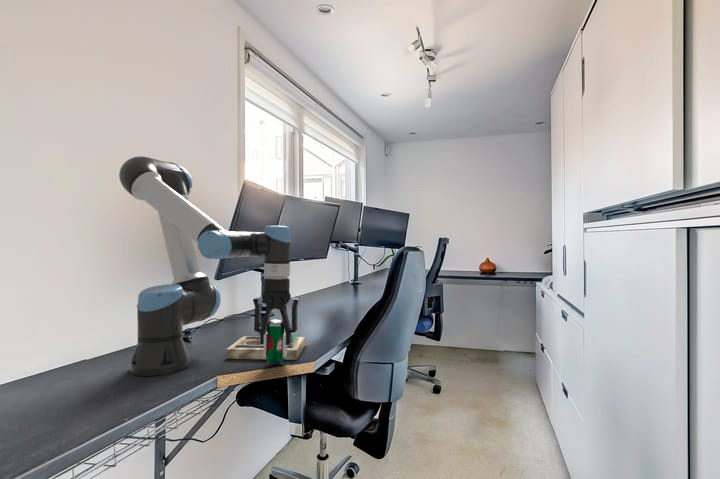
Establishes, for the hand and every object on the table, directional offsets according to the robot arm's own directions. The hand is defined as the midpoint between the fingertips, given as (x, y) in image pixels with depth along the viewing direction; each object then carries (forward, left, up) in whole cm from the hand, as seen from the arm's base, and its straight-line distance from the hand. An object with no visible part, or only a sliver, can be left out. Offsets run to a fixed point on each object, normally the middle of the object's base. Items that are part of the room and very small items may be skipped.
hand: (275, 355), depth 117 cm
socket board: (-6, +13, -3) cm, 14 cm away
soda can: (0, 0, -2) cm, 2 cm away
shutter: (-1, +13, 0) cm, 13 cm away
